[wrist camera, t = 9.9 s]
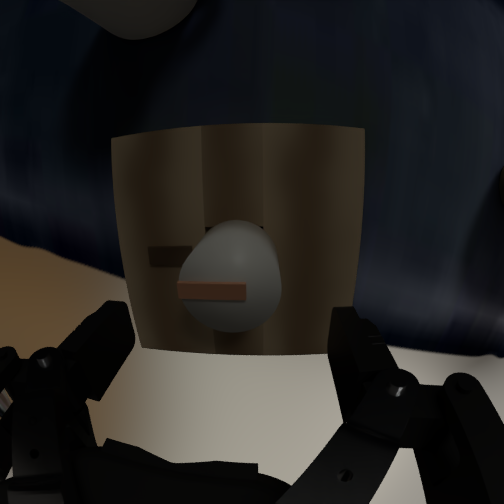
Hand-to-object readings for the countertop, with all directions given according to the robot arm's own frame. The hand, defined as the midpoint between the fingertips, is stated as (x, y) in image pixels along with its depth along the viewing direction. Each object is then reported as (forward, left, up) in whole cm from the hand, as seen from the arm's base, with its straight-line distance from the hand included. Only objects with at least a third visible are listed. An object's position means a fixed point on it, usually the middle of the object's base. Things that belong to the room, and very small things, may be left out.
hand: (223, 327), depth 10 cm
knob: (0, 0, -11) cm, 11 cm away
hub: (0, 0, -11) cm, 11 cm away
